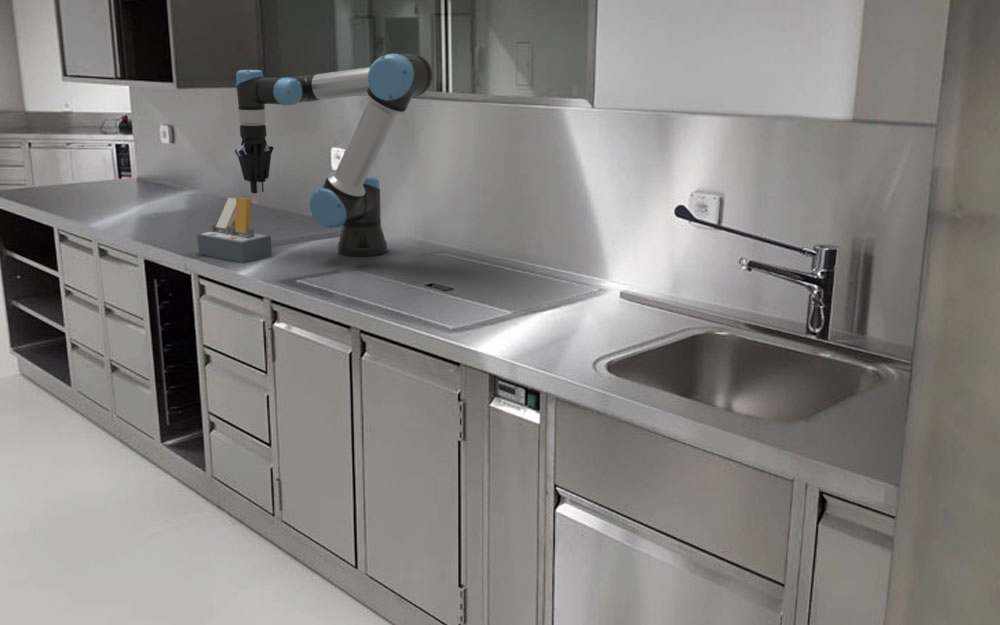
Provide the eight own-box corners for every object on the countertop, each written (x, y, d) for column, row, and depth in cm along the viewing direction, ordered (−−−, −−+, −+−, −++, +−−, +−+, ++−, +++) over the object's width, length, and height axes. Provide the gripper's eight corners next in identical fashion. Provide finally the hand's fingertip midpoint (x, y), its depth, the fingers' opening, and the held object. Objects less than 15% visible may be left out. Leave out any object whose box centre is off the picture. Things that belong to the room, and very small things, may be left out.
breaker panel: (272, 256, 279) (270, 227, 276) (243, 263, 270) (240, 234, 268) (228, 247, 290) (225, 220, 287) (199, 254, 281) (196, 226, 279)
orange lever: (250, 235, 275) (251, 199, 273) (246, 235, 274) (247, 199, 272) (238, 233, 278) (239, 197, 276) (233, 233, 277) (234, 197, 275)
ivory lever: (229, 233, 280) (243, 201, 282) (225, 230, 278) (239, 199, 281) (217, 230, 283) (231, 199, 285) (213, 228, 281) (227, 197, 284)
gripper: (261, 121, 279) (266, 199, 286) (226, 124, 269) (232, 205, 276) (278, 123, 275) (283, 201, 282) (243, 126, 265) (249, 208, 272)
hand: (258, 203), depth 279 cm, fingers closed
